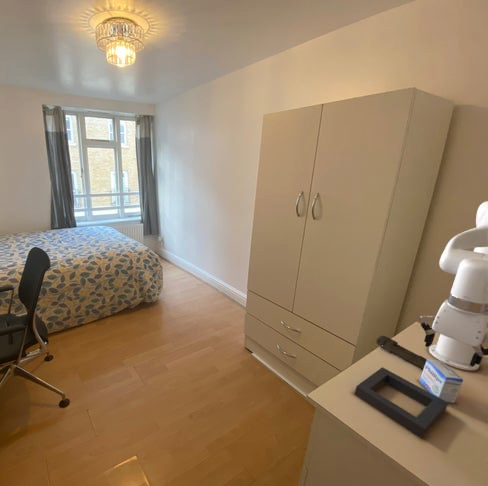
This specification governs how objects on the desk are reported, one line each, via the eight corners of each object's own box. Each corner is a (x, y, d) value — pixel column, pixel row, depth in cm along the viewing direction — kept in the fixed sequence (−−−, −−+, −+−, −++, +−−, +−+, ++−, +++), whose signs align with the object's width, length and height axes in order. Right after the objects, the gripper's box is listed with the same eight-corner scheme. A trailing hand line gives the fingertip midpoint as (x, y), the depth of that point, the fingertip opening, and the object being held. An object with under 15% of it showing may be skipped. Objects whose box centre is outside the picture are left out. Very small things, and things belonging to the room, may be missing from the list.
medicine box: (418, 381, 88) (425, 358, 86) (434, 382, 88) (442, 360, 85) (437, 401, 81) (446, 377, 79) (455, 403, 80) (464, 379, 78)
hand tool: (441, 375, 91) (445, 363, 89) (434, 378, 89) (438, 367, 88) (380, 342, 108) (383, 331, 106) (373, 344, 106) (376, 334, 105)
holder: (380, 375, 91) (382, 367, 90) (445, 411, 78) (448, 402, 77) (354, 394, 83) (356, 385, 83) (421, 438, 70) (424, 429, 69)
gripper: (520, 313, 70) (497, 368, 75) (432, 287, 85) (417, 334, 90) (512, 322, 67) (489, 378, 72) (421, 293, 81) (407, 342, 86)
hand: (449, 354), depth 81 cm, fingers open, 9 cm apart
